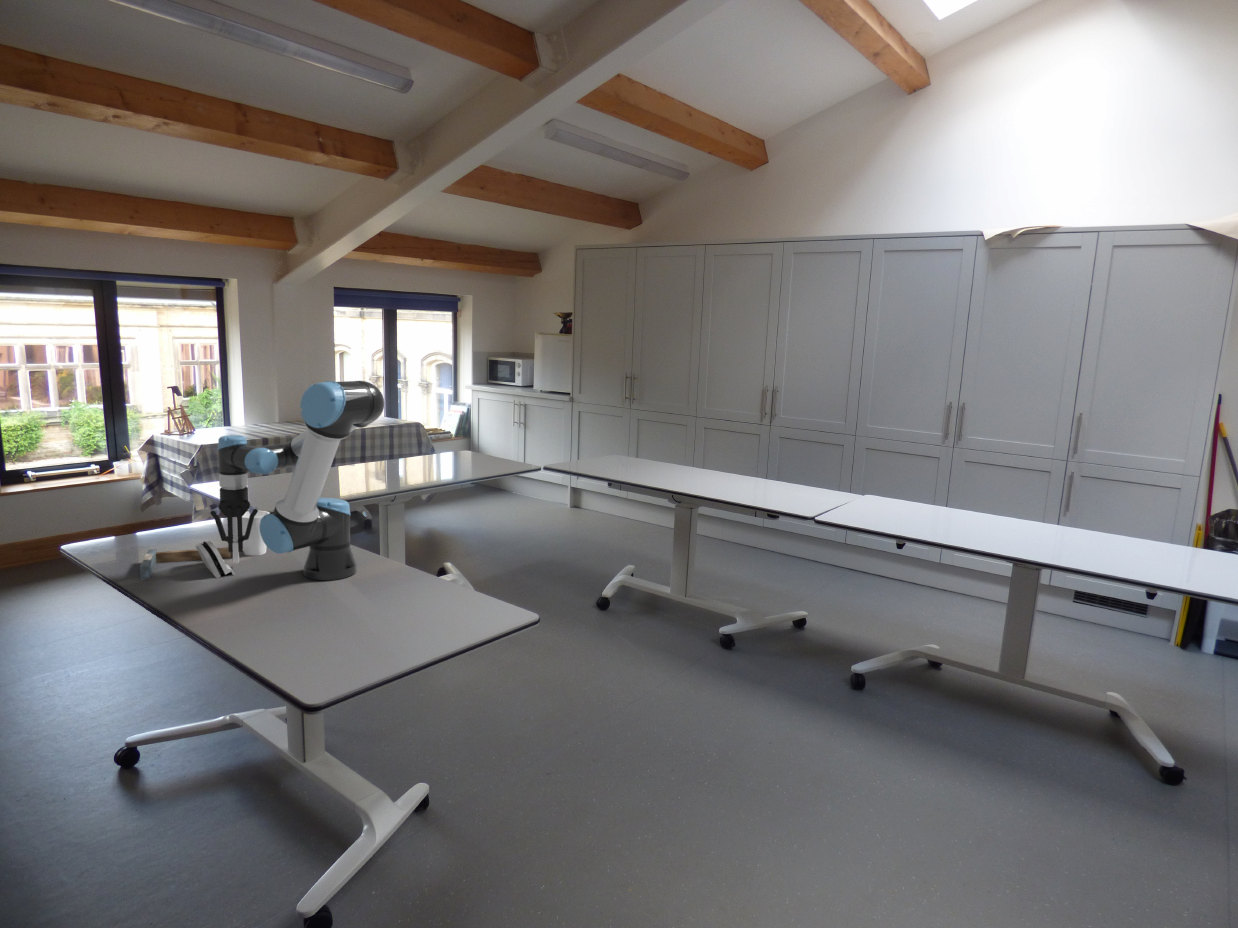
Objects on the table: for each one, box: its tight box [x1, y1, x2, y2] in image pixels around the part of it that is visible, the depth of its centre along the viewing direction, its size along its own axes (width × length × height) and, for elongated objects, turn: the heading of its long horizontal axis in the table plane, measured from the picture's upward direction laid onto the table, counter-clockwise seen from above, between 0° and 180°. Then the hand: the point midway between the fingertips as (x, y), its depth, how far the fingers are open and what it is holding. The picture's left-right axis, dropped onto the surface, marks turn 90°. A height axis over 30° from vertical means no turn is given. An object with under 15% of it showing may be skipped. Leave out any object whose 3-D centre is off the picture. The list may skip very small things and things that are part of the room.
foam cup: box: [242, 510, 271, 557], centre depth 233 cm, size 10×9×13 cm
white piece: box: [195, 539, 236, 579], centre depth 216 cm, size 17×5×10 cm, turn 41°
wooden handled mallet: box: [139, 547, 232, 581], centre depth 217 cm, size 22×17×4 cm
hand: (236, 561), depth 219 cm, fingers closed
